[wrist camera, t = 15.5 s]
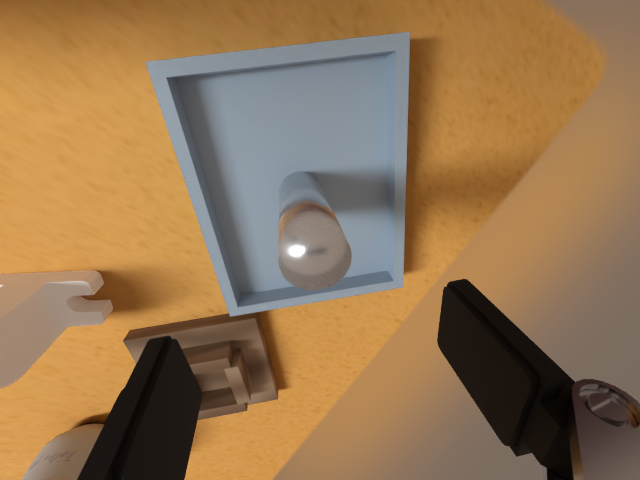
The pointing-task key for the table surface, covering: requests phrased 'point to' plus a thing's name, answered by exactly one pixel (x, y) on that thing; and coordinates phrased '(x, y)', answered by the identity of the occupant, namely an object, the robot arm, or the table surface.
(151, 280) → the table surface
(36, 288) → the cable organizer
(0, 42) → the table surface
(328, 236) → the pin
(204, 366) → the brown square socket base
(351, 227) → the tray
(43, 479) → the teacup
